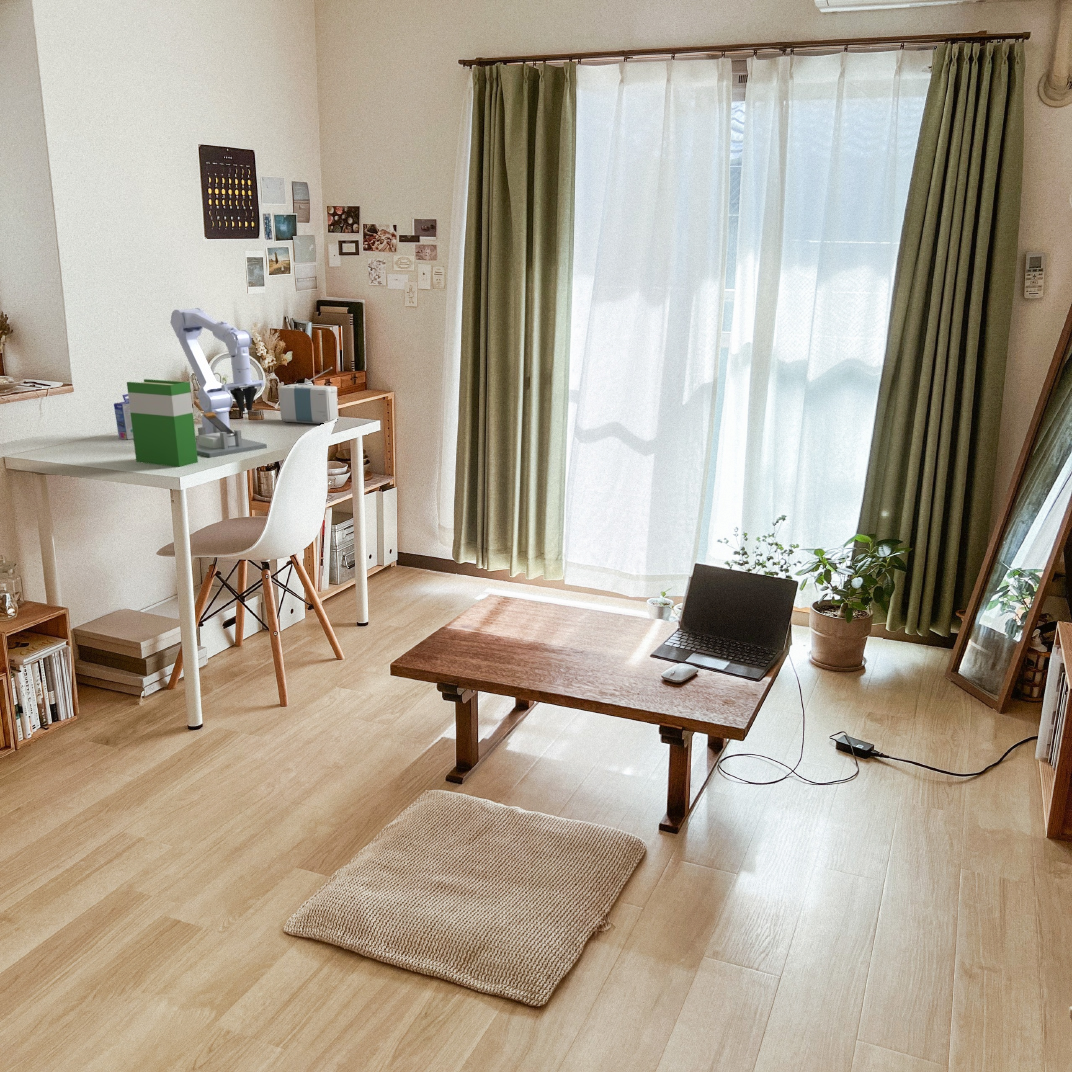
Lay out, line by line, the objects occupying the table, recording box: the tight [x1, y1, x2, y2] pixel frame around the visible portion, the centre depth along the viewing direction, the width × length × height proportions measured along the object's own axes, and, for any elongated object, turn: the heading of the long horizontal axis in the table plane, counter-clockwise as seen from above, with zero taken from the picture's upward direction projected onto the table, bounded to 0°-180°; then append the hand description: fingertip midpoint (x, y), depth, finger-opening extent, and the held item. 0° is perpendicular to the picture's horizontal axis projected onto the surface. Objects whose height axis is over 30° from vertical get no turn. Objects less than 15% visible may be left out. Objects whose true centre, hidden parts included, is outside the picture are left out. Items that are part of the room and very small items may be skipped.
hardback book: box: [126, 378, 199, 468], centre depth 307 cm, size 18×7×24 cm, turn 63°
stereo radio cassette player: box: [278, 366, 339, 425], centre depth 372 cm, size 21×8×20 cm, turn 67°
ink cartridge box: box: [113, 393, 134, 440], centre depth 349 cm, size 10×6×14 cm, turn 146°
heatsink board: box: [196, 425, 268, 458], centre depth 330 cm, size 22×20×6 cm
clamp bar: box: [202, 412, 236, 437], centre depth 328 cm, size 14×3×1 cm, turn 47°
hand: (245, 410), depth 336 cm, fingers open, 2 cm apart
